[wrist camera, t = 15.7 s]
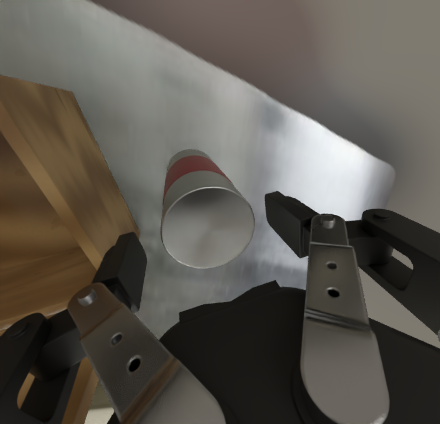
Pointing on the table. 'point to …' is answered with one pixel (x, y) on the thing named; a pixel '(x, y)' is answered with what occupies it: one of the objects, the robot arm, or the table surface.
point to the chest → (51, 201)
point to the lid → (79, 394)
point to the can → (203, 213)
